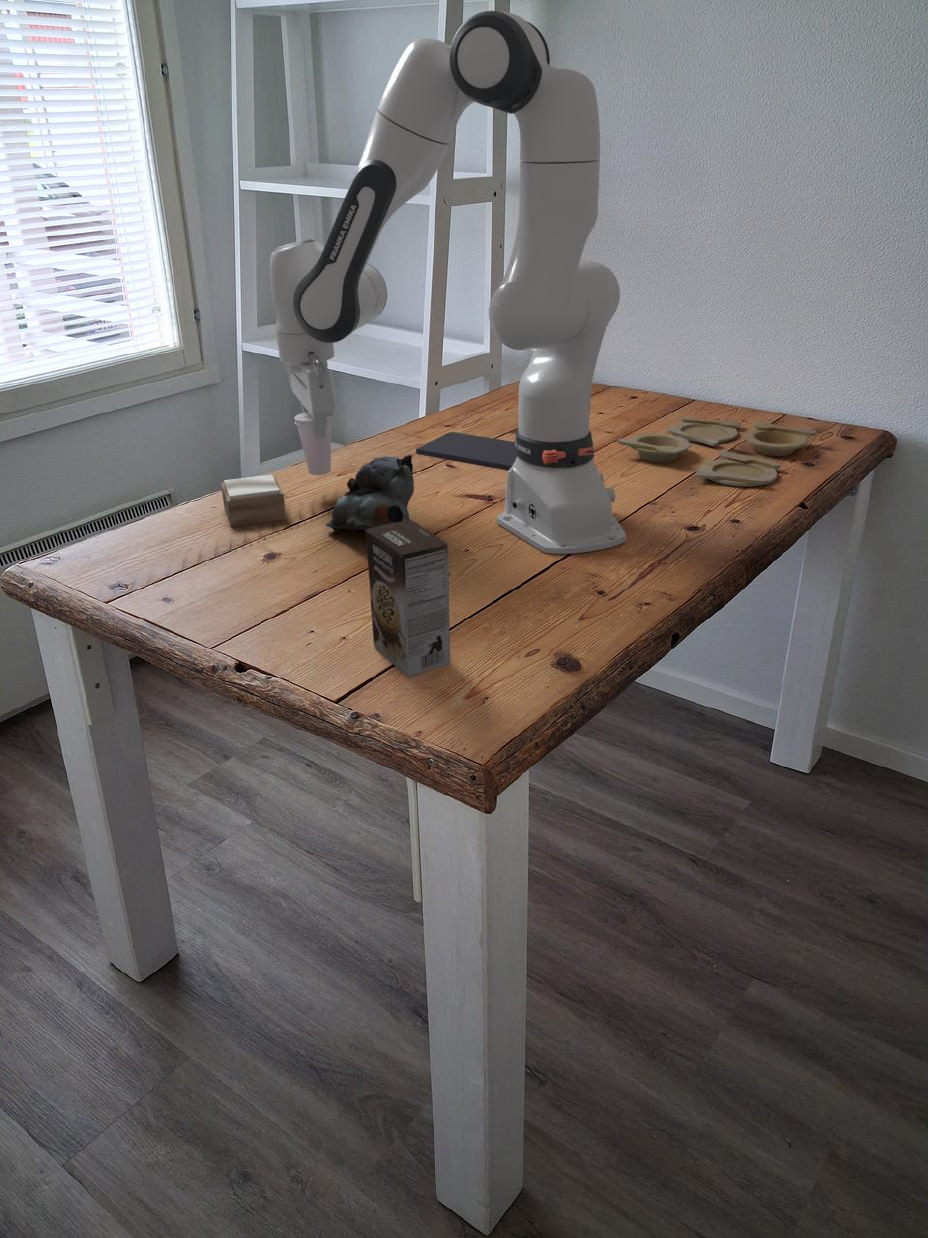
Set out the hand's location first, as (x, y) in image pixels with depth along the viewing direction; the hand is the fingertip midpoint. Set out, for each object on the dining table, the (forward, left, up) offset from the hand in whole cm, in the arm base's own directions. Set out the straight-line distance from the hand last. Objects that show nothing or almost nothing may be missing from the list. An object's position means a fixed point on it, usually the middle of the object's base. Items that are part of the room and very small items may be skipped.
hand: (315, 431), depth 168 cm
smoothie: (0, 0, -7) cm, 7 cm away
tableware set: (-4, -75, -12) cm, 77 cm away
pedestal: (-3, +12, -12) cm, 17 cm away
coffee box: (-58, +1, -12) cm, 60 cm away
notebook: (+13, -33, -13) cm, 38 cm away
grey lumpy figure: (-17, -5, -12) cm, 22 cm away
